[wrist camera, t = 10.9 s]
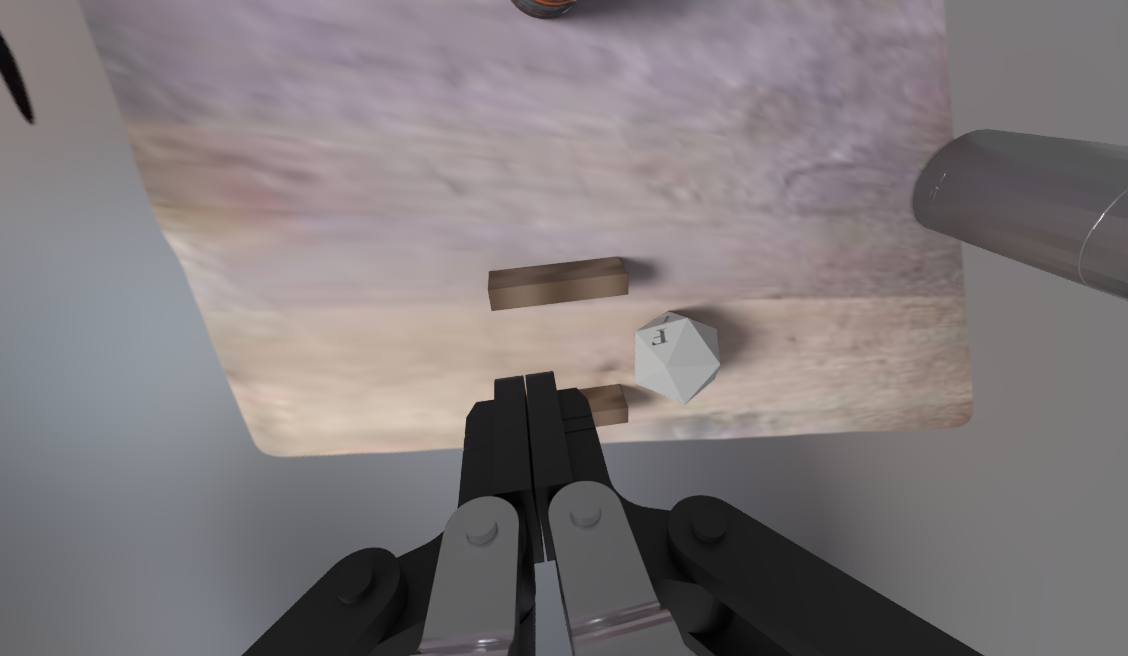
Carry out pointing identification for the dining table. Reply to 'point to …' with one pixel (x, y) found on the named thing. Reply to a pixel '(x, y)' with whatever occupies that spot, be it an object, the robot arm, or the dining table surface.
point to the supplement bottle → (544, 7)
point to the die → (676, 356)
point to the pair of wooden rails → (564, 287)
